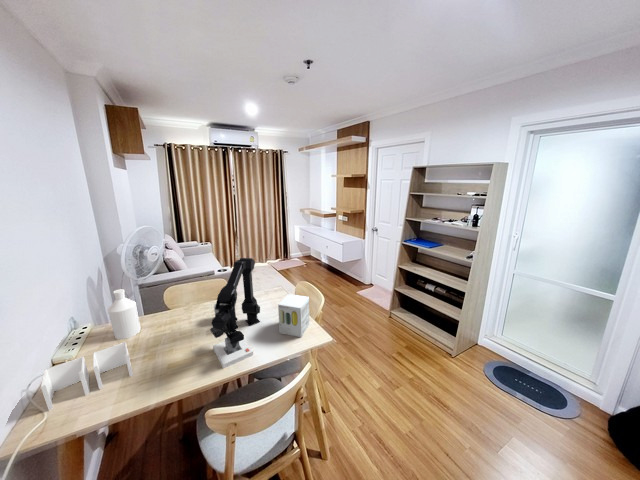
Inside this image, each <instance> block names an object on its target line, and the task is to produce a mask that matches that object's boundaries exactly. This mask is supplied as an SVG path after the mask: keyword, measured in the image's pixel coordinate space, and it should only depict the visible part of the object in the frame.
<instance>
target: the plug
mask: <svg viewBox="0 0 640 480" xmlns="http://www.w3.org/2000/svg"><path fill="white" fill-rule="evenodd" d="M227 338H228V337H227V336H226V337H225V338H224V341H225V345H226V348H227V350H228V351H232V350H234V349H236V348H239V347H240V346H239V342H237V345H236V347H235V348H233V347H232V344H230V342H229V341H228V340H227Z"/></svg>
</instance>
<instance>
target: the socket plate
mask: <svg viewBox="0 0 640 480" xmlns="http://www.w3.org/2000/svg"><path fill="white" fill-rule="evenodd" d="M239 346H240V347H239V348H236V349H234V350H232V351H228V350H227V348H226V345H225V340H224V341H221V342H219V343H217V344H214V345H212V350H213V352H214V353H215V355H216V357H217V359H218V361H219V363H220V364H221V366H222V369H226V368H228V367H229V366H232V365H234V364H236V363H238V362H241V361H242V360H243V361H244V360H245V359H249V358H250V357H252V356H254V351H253V349H252V347H250V345H249V344H248V343H247V341H246V340H245V339H244V340H242V341H239Z"/></svg>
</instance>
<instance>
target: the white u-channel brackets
mask: <svg viewBox="0 0 640 480" xmlns="http://www.w3.org/2000/svg"><path fill="white" fill-rule="evenodd" d="M92 354H93V359H92V360H93V361H92V362H93V363H92V364H93V366H92V367H93V371H94V375H95V378H96V382H97V386H98V389H100V388H103V389H104V386H103V381H102V379H101V374H100V373H102V372H105V371H107V370H110V369H112V370H114V369H113V368H115V369H117V368H116V367H118V368H119V366H120V367H122V365H123V366H125V365H126V367H127V371H128V374H129V375H128V376H129V377H130V376H132V377H134V373H133V369H132V364H131V359H130V354H129V350H128V345H127V342H126V341H124V342H121V343H118V344H115V345H112V346H109V347H106V348H104V349H100V350H98V351H94V352H93V353H92ZM86 363H87V362H86V360H85V356H80V357H77V358H75V359H71V360H69V361H64V362H62V363H59V364H57V365H54V366H50V367H48V368H45V369H44V372H43V377H42V381H41V383H40V384H41V385H40V389H41V392H42V394H43V397H44V400H45V403H46V406H47V408H48V409H47V410H48V411H49V410H50V409H53V408H54V405H53V400H52V398H53V399H54V395H53V393H54V394H55V392H54V391H56V392H58V391H60V390H59V389H61V388H63V389H65V388H64V387H66V388H68V387H67V386H69V385H71V386H73V385H72V384H74V383H76V384H78V383H77V382H79V381H81V382H79V383H81V385H82V388H83V392H84V396H85V395H86V394H88V393H89V394H90V389H89V377H90V374H89V370H88V366H87V364H86ZM124 364H125V365H124ZM110 371H111V370H110ZM107 372H108V371H107ZM105 373H106V372H105ZM102 374H103V373H102ZM74 385H75V384H74ZM69 387H70V386H69ZM57 390H58V391H57ZM61 390H62V389H61ZM86 396H87V395H86ZM53 410H54V409H53Z"/></svg>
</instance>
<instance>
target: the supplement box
mask: <svg viewBox="0 0 640 480" xmlns="http://www.w3.org/2000/svg"><path fill="white" fill-rule="evenodd" d="M277 305H278V306H277V307H278V309H277V310H278V326H279V330H278V331H279V334H282V335H288V336H292V337H298V338H302V337H303V336H304V334H305V333H306V331H307V329H308V328H309V326H310V325H311V324H310V296H306V295H299V294H293V293H287V295H285V297H284V298H282V300H281V301H280V302H279V303H278V304H277Z"/></svg>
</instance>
